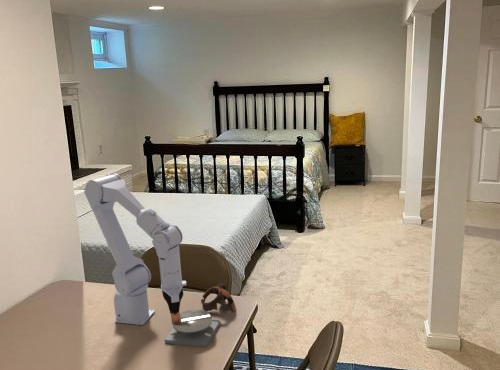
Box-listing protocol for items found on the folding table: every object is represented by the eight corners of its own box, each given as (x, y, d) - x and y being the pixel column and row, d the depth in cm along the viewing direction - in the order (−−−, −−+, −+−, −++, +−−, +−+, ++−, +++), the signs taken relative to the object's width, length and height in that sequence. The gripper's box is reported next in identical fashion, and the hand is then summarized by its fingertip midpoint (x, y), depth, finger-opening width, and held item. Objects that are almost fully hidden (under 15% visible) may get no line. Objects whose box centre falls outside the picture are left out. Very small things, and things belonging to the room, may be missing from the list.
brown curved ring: (236, 318, 136) (222, 299, 132) (210, 328, 138) (195, 311, 135) (239, 290, 146) (225, 272, 143) (214, 300, 149) (200, 283, 145)
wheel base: (164, 342, 124) (164, 338, 123) (181, 319, 135) (181, 315, 135) (206, 347, 121) (206, 343, 120) (220, 323, 132) (219, 319, 132)
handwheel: (166, 337, 124) (164, 319, 122) (182, 316, 134) (180, 299, 133) (204, 342, 121) (203, 322, 120) (217, 320, 131) (216, 302, 130)
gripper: (188, 278, 120) (192, 324, 123) (181, 257, 133) (185, 299, 137) (161, 282, 118) (166, 328, 121) (157, 261, 132) (161, 303, 135)
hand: (174, 313), depth 129 cm, fingers closed
